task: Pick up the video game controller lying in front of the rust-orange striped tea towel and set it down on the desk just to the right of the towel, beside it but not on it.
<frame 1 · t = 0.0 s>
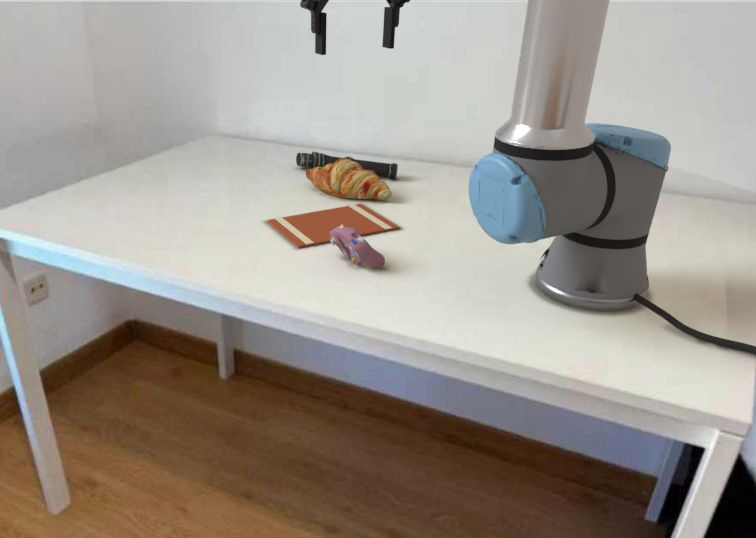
hand: (354, 51, 121), 28 cm above the table, tool pointing down, fingers open, 13 cm apart
croissant: (346, 194, 141), on the table
video game controller: (355, 262, 112), on the table
twine-wrapped black handle: (344, 174, 153), on the table
tea towel: (332, 225, 126), on the table
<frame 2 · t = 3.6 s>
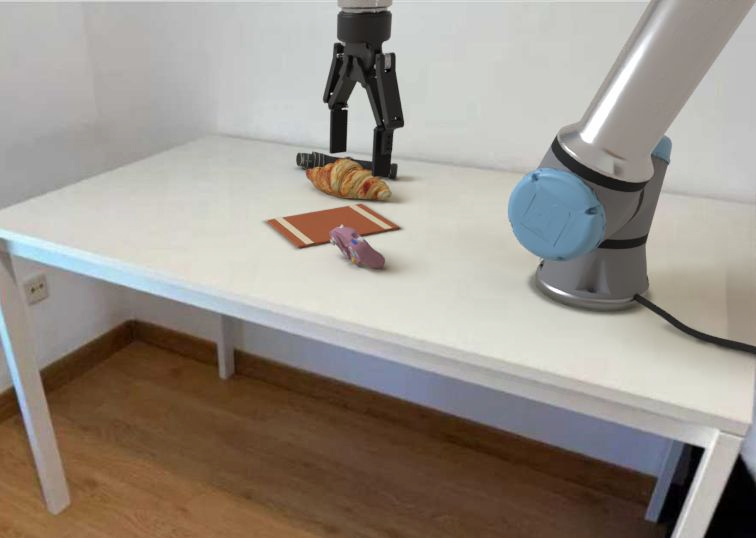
hand: (358, 163, 105), 16 cm above the table, tool pointing down, fingers open, 13 cm apart
nothing on the table moved.
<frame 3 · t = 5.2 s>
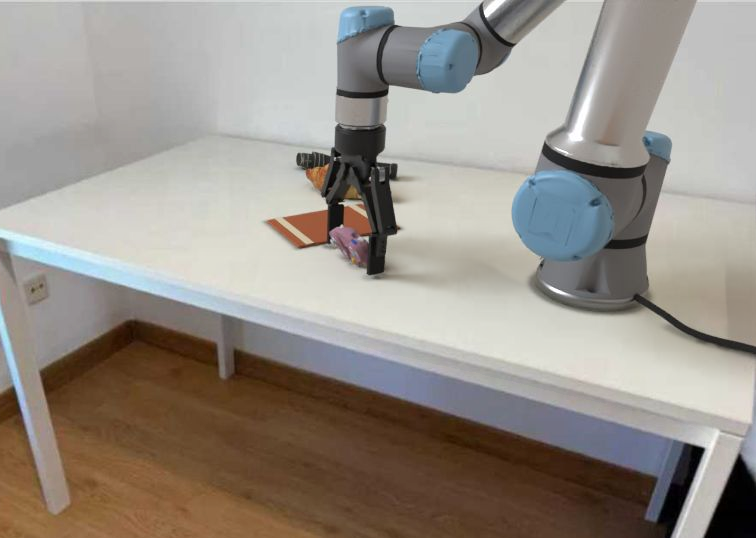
hand: (354, 257, 112), 1 cm above the table, tool pointing down, fingers open, 13 cm apart
nothing on the table moved.
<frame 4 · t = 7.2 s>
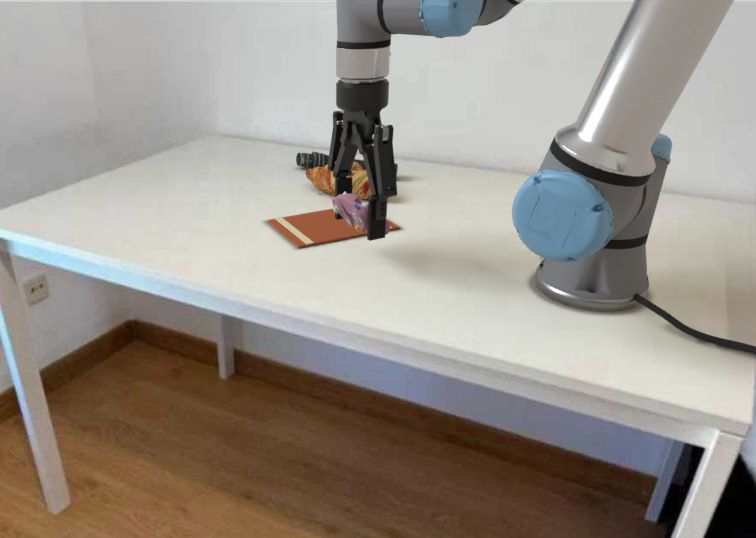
hand: (359, 227, 109), 6 cm above the table, tool pointing down, fingers closed on video game controller, 10 cm apart
video game controller: (359, 230, 109), point 5 cm above the table, touching gripper
everything else where it was.
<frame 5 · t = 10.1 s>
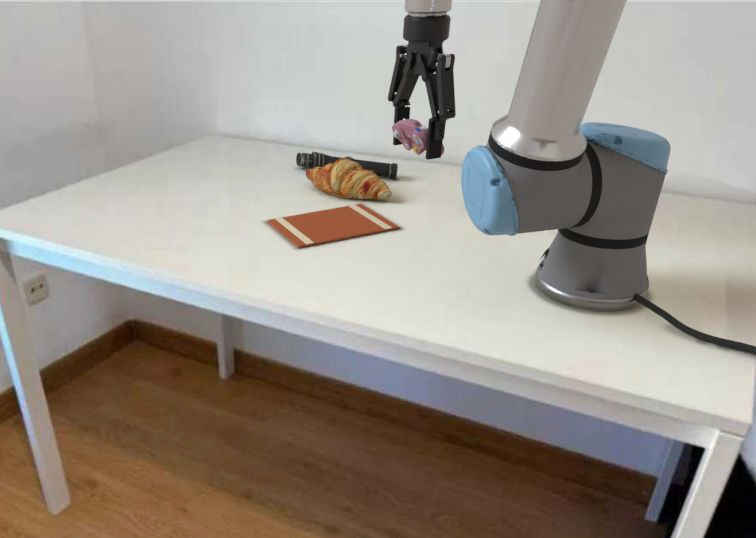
hand: (416, 150, 123), 12 cm above the table, tool pointing down, fingers closed on video game controller, 10 cm apart
video game controller: (415, 153, 124), point 12 cm above the table, touching gripper
everything else where it was.
when the fingers open (0 cm above the table, at t = 13.1 s): video game controller stays where it is, on the table.
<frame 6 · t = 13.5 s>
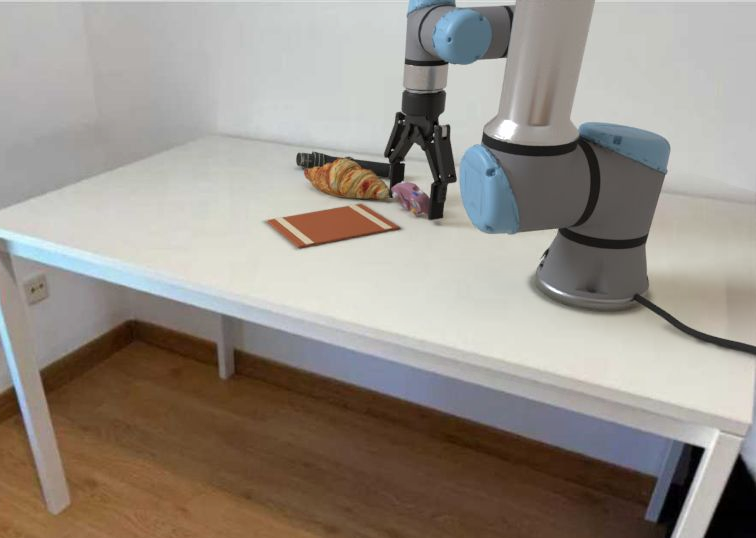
hand: (414, 207, 130), 1 cm above the table, tool pointing down, fingers open, 13 cm apart
croissant: (344, 193, 142), on the table, touching gripper
video game controller: (413, 213, 131), on the table
everything else where it was.
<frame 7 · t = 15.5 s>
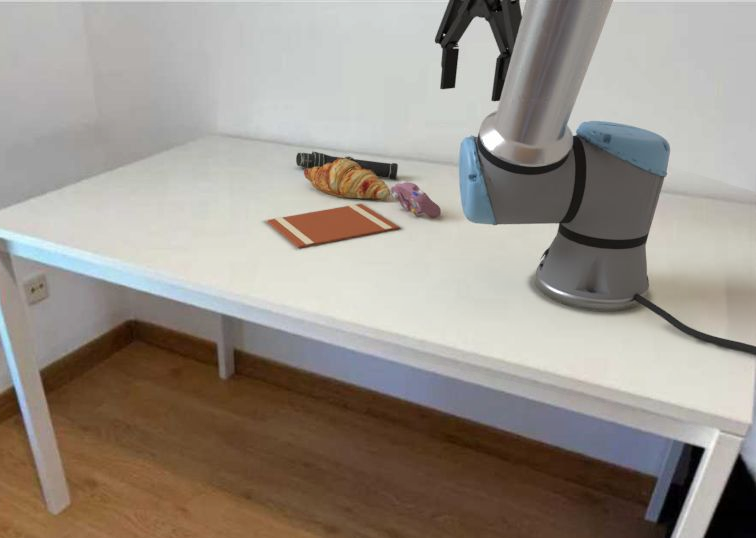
hand: (472, 94, 117), 22 cm above the table, tool pointing down, fingers open, 13 cm apart
croissant: (344, 193, 142), on the table
everything else where it was.
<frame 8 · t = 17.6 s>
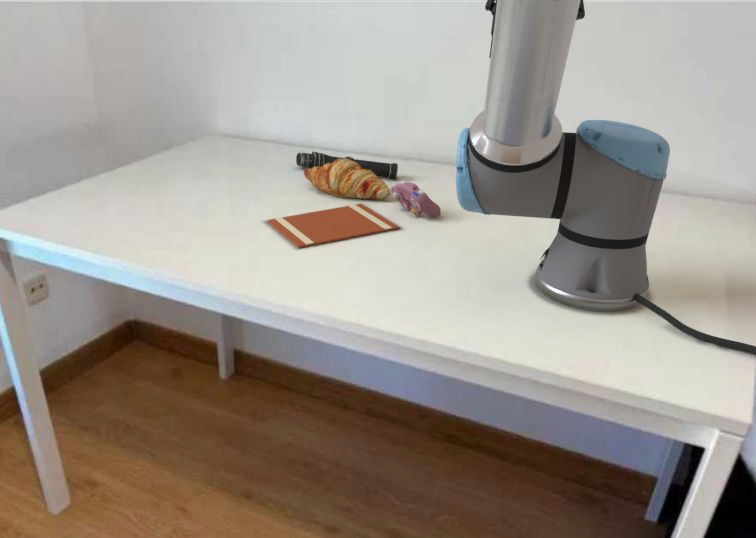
hand: (523, 63, 114), 27 cm above the table, tool pointing down, fingers open, 13 cm apart
nothing on the table moved.
at the end: video game controller inside the target area on the table beside the tea towel (2.7 cm from its centre), on the table; video game controller touching table; video game controller tilted 0° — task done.
